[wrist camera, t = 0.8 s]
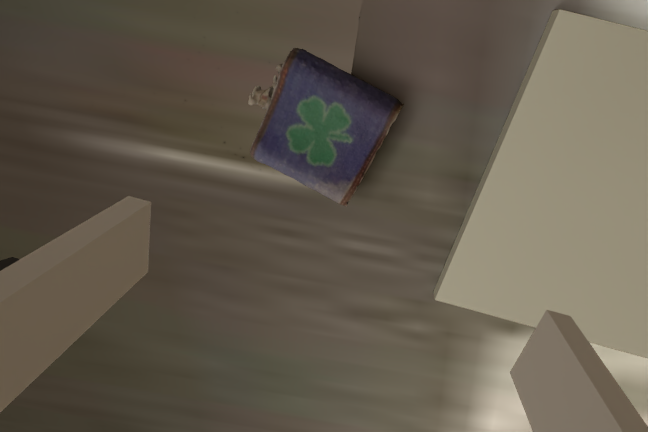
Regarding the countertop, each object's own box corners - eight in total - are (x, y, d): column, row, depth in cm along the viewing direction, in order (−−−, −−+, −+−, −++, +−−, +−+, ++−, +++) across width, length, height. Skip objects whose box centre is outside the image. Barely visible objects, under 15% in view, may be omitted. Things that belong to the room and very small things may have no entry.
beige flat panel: (552, 10, 27) (559, 9, 26) (848, 83, 26) (869, 85, 25) (433, 292, 37) (434, 299, 36) (644, 350, 36) (653, 359, 35)
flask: (344, 211, 31) (224, 148, 31) (349, 199, 34) (239, 141, 34) (404, 104, 27) (268, 31, 27) (404, 100, 30) (280, 34, 30)
